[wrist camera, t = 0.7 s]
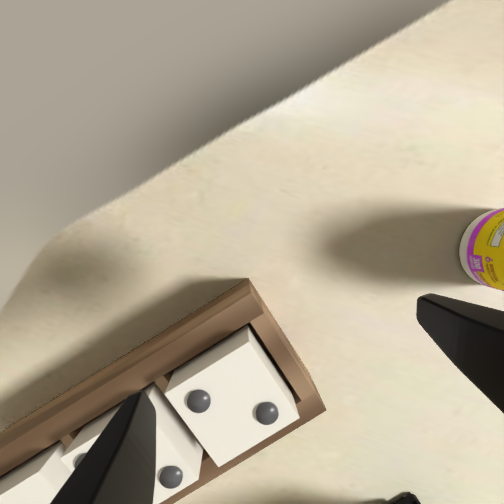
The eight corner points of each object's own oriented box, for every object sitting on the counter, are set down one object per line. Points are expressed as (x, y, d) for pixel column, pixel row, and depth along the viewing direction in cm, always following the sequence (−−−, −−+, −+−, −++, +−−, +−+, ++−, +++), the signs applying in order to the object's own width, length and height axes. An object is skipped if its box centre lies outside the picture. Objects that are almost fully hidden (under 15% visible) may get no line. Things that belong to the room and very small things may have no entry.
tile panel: (309, 372, 22) (326, 410, 18) (79, 513, 23) (40, 584, 18) (248, 278, 21) (251, 293, 17) (6, 428, 22) (-55, 482, 17)
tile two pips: (291, 391, 19) (300, 420, 16) (221, 434, 19) (218, 470, 16) (247, 324, 18) (249, 343, 15) (174, 370, 18) (163, 396, 15)
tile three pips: (203, 445, 19) (197, 482, 16) (134, 487, 19) (117, 532, 16) (156, 381, 18) (141, 409, 15) (84, 426, 18) (57, 461, 15)
